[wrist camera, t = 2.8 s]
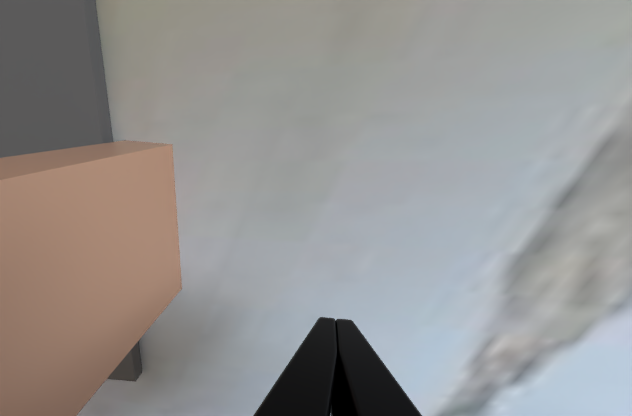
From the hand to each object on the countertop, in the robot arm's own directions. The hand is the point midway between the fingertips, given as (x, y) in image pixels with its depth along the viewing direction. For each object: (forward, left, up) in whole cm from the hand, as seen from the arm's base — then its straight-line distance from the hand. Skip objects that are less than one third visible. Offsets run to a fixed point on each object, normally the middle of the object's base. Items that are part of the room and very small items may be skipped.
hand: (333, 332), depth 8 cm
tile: (0, +8, -6) cm, 10 cm away
